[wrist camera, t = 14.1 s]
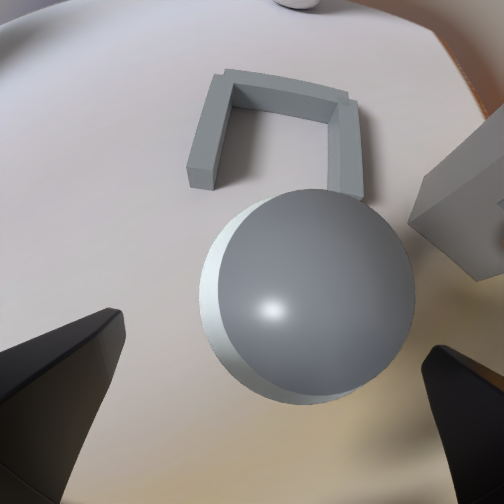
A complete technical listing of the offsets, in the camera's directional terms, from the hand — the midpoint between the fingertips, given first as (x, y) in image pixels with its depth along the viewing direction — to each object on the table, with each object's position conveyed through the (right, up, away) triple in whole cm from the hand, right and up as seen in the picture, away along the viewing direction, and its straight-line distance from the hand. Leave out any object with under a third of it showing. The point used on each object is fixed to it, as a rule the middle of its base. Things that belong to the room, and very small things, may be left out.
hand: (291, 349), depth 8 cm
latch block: (+15, +4, +12) cm, 20 cm away
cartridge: (-1, -1, +9) cm, 10 cm away
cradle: (+1, +9, +12) cm, 15 cm away
